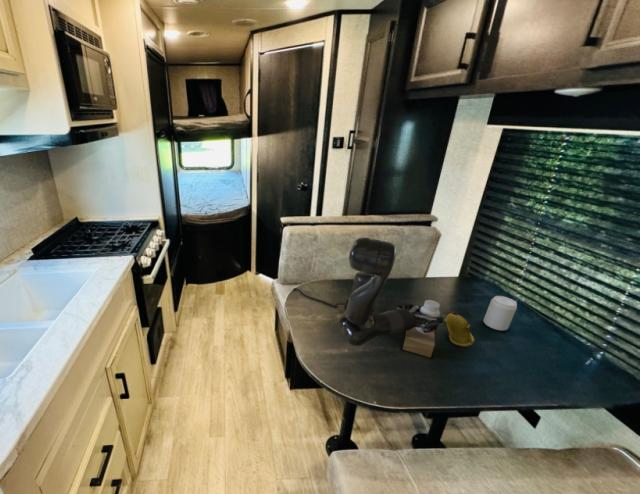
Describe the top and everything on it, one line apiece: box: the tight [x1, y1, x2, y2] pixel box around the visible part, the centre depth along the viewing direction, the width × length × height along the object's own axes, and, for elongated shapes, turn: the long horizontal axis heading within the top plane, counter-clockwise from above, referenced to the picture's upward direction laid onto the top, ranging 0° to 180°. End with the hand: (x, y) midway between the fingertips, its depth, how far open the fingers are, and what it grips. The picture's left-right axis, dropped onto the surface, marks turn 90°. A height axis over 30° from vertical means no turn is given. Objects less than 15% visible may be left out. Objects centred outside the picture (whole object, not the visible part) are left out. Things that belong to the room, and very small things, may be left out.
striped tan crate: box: [402, 312, 436, 358], centre depth 120 cm, size 20×9×8 cm, turn 152°
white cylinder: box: [483, 295, 518, 332], centre depth 125 cm, size 8×8×12 cm
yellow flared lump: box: [444, 311, 476, 348], centre depth 115 cm, size 12×8×15 cm
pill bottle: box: [416, 299, 441, 334], centre depth 111 cm, size 6×6×11 cm
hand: (434, 313), depth 111 cm, fingers closed on pill bottle, 6 cm apart
